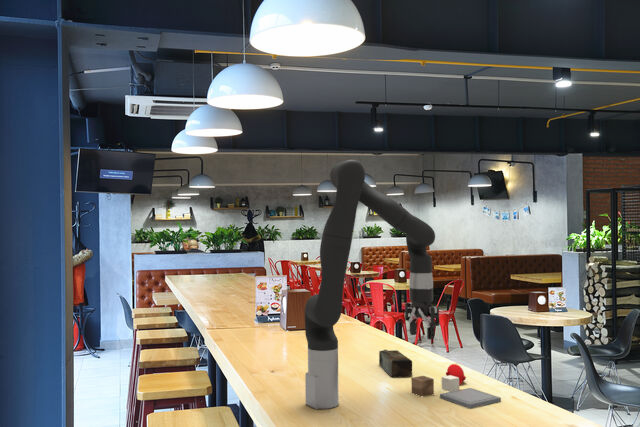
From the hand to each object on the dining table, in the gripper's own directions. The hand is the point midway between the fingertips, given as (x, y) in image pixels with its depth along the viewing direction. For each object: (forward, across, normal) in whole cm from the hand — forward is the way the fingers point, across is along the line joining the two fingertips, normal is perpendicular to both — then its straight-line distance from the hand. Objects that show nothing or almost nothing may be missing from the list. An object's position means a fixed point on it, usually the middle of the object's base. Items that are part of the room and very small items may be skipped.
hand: (421, 336), depth 195 cm
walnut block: (+18, 0, 0) cm, 18 cm away
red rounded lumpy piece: (+18, -4, +18) cm, 26 cm away
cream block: (+18, +1, +11) cm, 21 cm away
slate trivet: (+18, +13, +8) cm, 24 cm away
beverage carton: (+19, -28, +10) cm, 35 cm away
